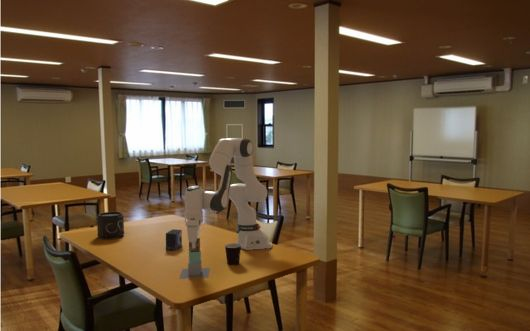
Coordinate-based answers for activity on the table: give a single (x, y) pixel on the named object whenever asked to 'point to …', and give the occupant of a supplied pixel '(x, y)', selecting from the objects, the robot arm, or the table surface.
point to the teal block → (195, 256)
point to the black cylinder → (110, 225)
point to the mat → (203, 275)
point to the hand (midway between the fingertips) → (194, 246)
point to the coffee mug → (233, 253)
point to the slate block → (194, 268)
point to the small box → (173, 239)
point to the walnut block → (196, 245)
